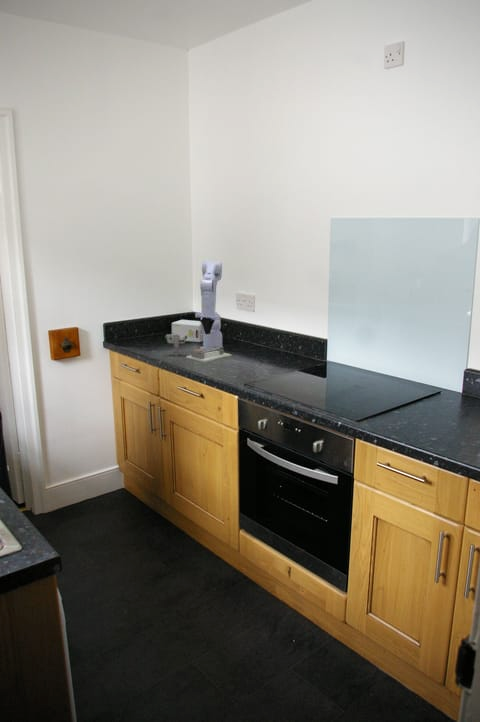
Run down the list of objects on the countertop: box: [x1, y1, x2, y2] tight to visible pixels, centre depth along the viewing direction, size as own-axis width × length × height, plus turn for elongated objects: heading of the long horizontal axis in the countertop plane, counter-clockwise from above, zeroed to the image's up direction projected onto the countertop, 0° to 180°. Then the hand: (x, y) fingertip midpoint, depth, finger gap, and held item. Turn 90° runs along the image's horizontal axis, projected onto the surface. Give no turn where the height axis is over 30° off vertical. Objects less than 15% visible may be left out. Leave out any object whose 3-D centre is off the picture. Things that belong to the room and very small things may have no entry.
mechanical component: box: [164, 333, 187, 357], centre depth 276 cm, size 3×10×10 cm, turn 89°
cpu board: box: [186, 348, 232, 363], centre depth 275 cm, size 18×12×4 cm, turn 138°
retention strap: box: [193, 346, 223, 353], centre depth 274 cm, size 14×4×1 cm, turn 138°
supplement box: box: [171, 319, 203, 343], centre depth 318 cm, size 17×13×9 cm
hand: (207, 333), depth 277 cm, fingers closed
